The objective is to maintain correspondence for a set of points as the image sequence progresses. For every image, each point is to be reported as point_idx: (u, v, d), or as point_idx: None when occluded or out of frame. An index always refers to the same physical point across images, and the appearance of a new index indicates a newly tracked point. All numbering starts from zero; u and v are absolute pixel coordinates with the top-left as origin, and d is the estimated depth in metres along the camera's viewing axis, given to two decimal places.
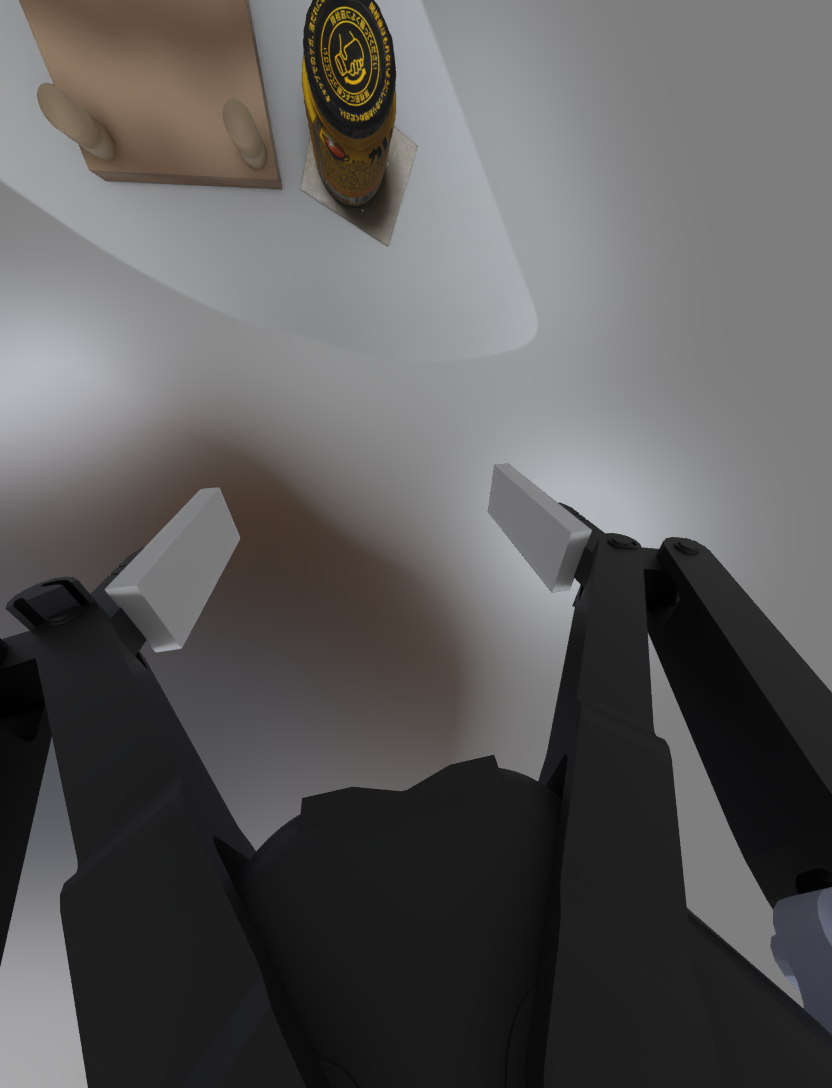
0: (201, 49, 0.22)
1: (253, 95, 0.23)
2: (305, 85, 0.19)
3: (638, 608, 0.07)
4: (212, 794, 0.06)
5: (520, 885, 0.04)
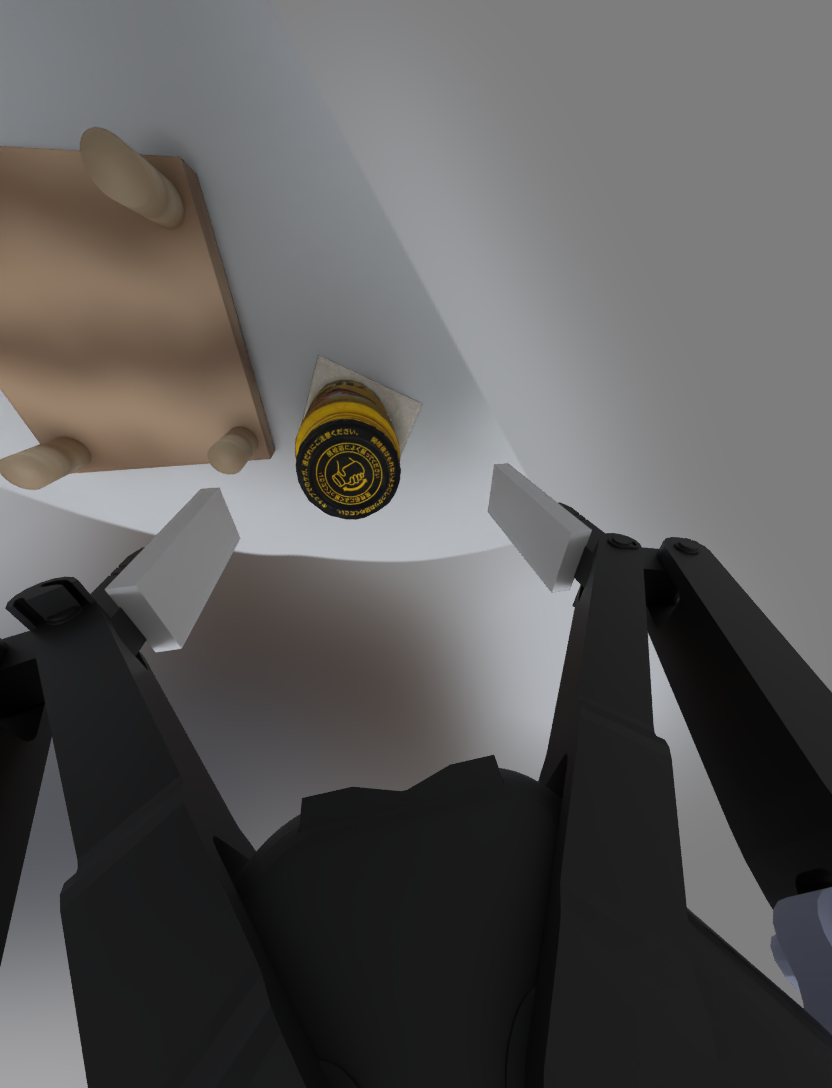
0: (183, 371, 0.19)
1: (242, 399, 0.21)
2: None
3: (638, 608, 0.07)
4: (212, 794, 0.06)
5: (520, 885, 0.04)
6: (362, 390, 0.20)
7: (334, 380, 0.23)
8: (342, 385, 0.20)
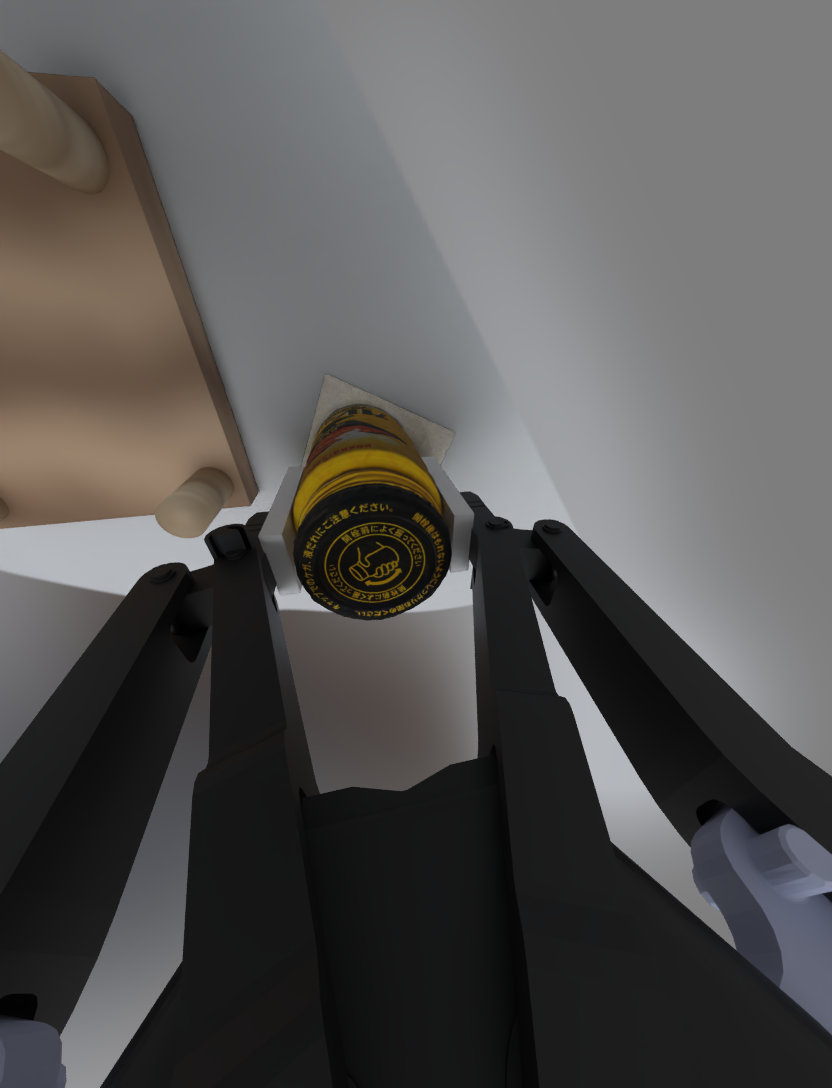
0: (126, 397, 0.14)
1: (209, 433, 0.16)
2: None
3: (521, 581, 0.08)
4: (302, 742, 0.07)
5: None
6: (384, 421, 0.15)
7: (345, 405, 0.18)
8: (357, 415, 0.15)
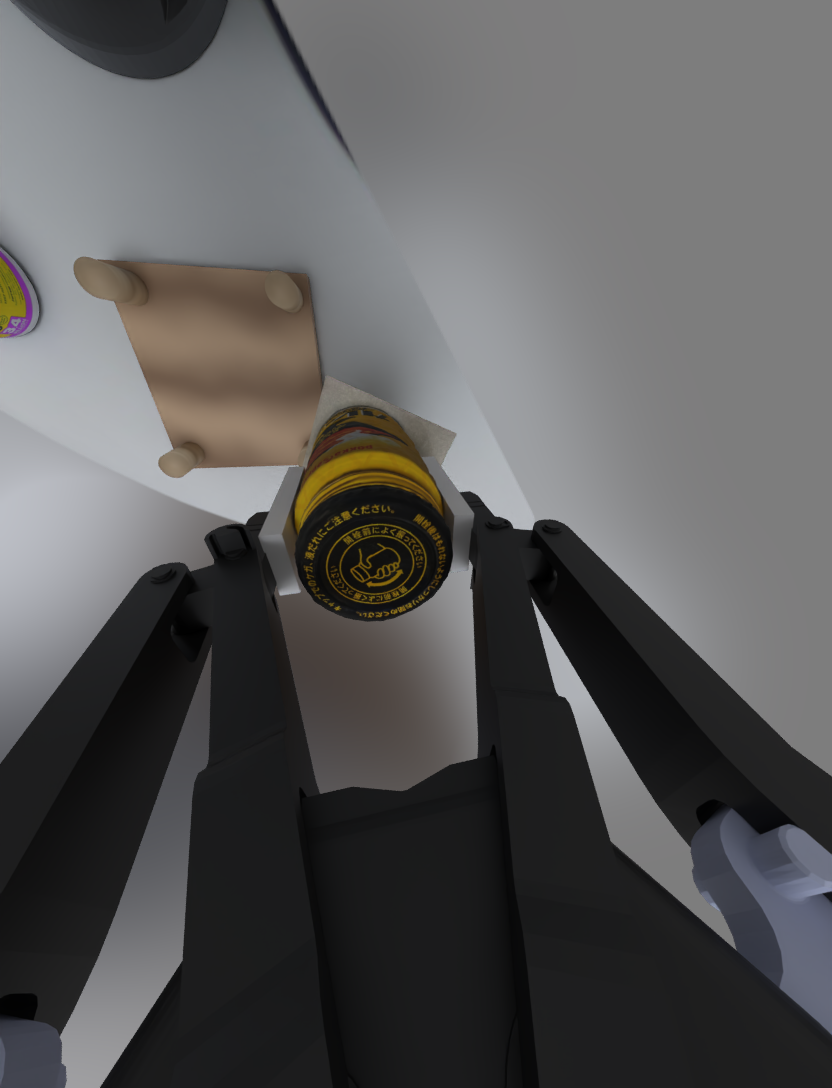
0: (281, 400, 0.28)
1: None
2: None
3: (521, 581, 0.08)
4: (302, 741, 0.07)
5: None
6: (385, 422, 0.15)
7: (346, 406, 0.18)
8: (358, 416, 0.15)
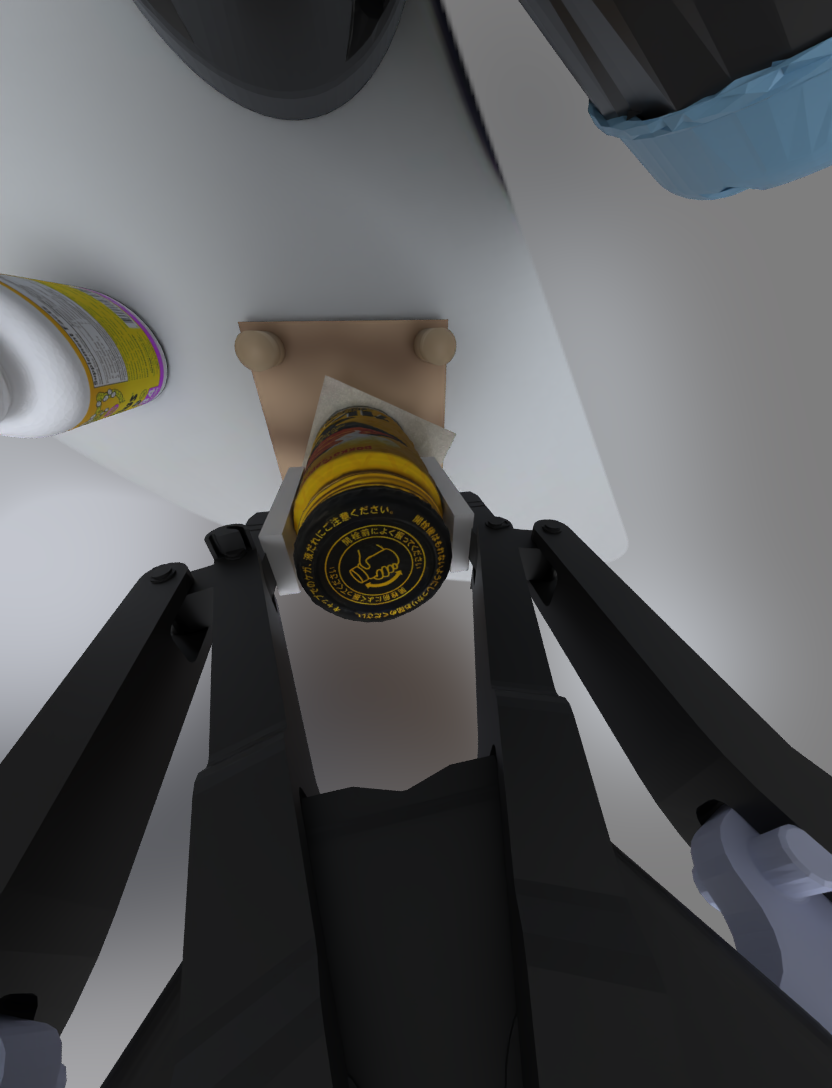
0: None
1: None
2: None
3: (520, 581, 0.08)
4: (302, 742, 0.07)
5: None
6: (385, 423, 0.15)
7: (345, 406, 0.18)
8: (358, 416, 0.15)
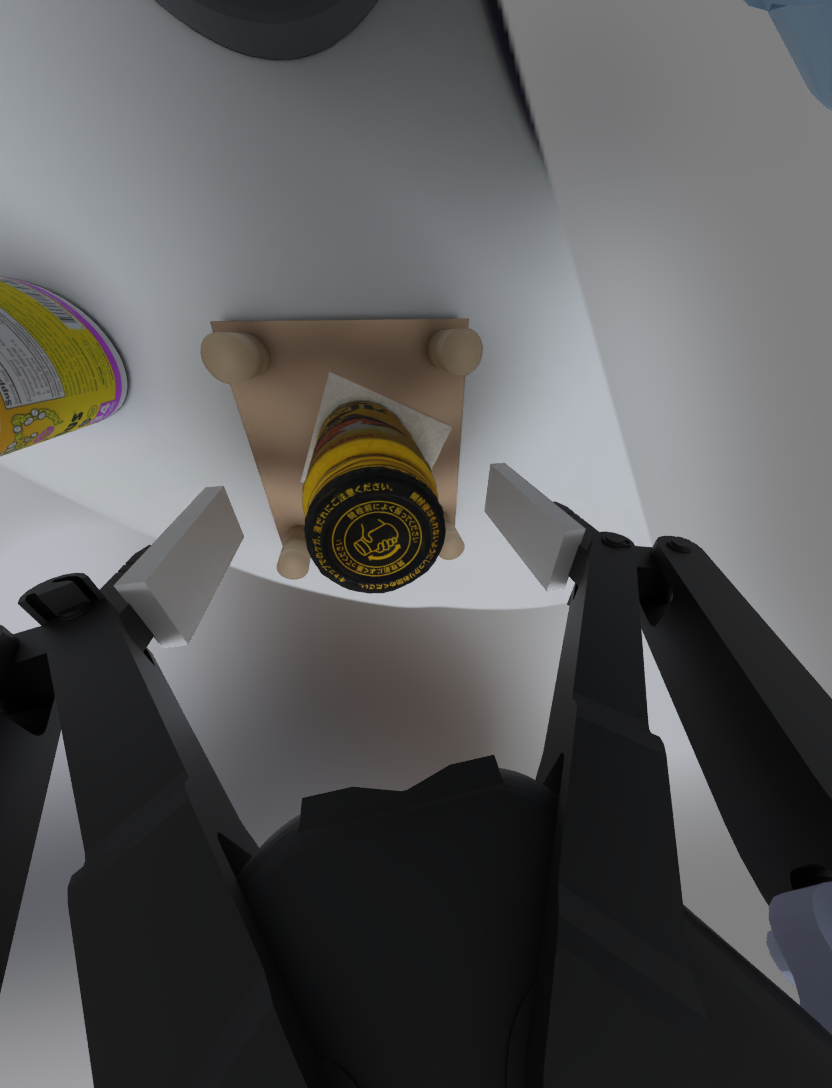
0: None
1: (448, 490, 0.24)
2: None
3: (632, 606, 0.07)
4: (217, 790, 0.06)
5: (520, 885, 0.04)
6: (385, 415, 0.16)
7: (348, 401, 0.19)
8: (360, 409, 0.16)
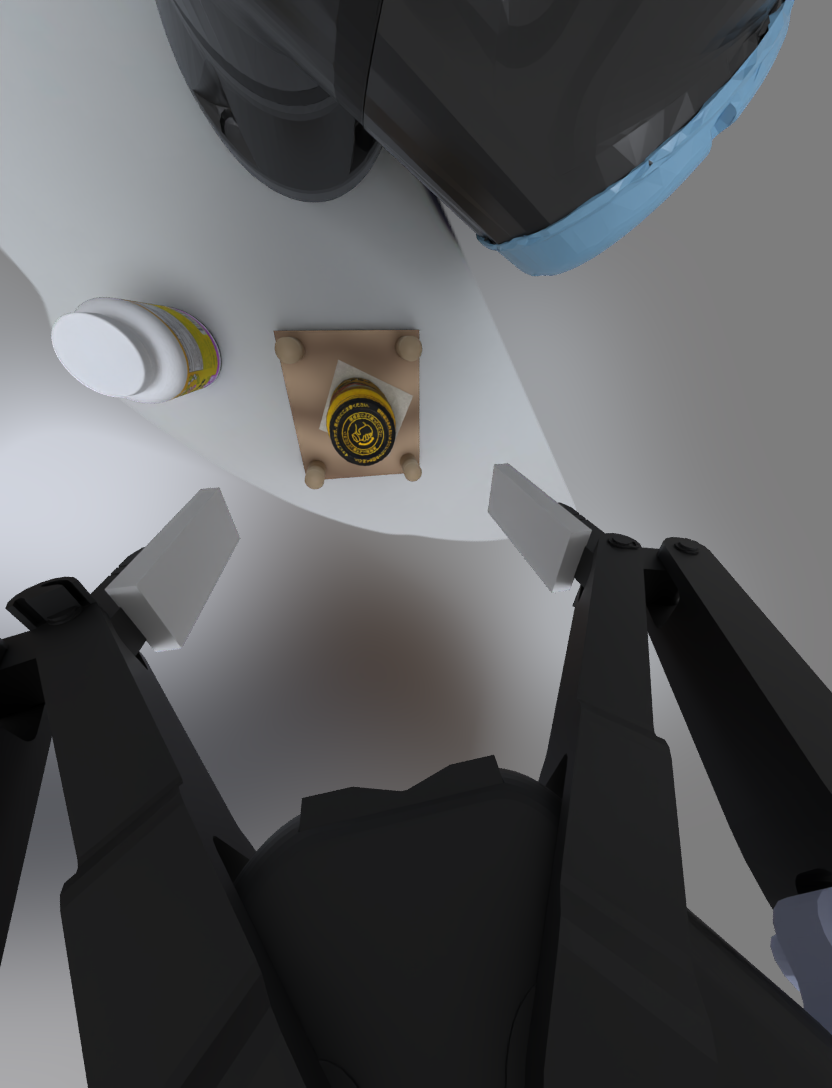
0: None
1: (413, 438, 0.37)
2: (328, 428, 0.26)
3: (638, 608, 0.07)
4: (212, 794, 0.06)
5: (520, 885, 0.04)
6: (369, 384, 0.29)
7: (349, 377, 0.32)
8: (355, 380, 0.29)
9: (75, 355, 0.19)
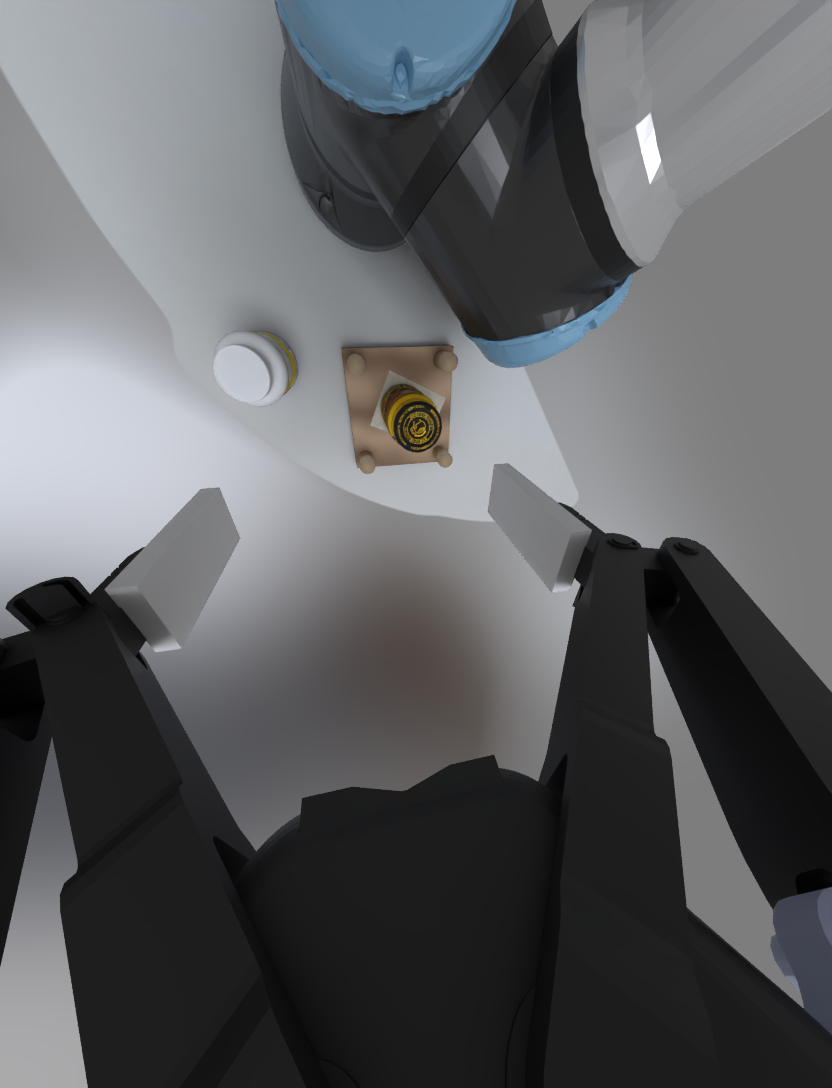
0: None
1: (444, 433, 0.45)
2: (389, 424, 0.34)
3: (638, 608, 0.07)
4: (212, 794, 0.06)
5: (520, 885, 0.04)
6: (415, 389, 0.37)
7: (396, 384, 0.40)
8: (404, 386, 0.37)
9: (226, 373, 0.27)
